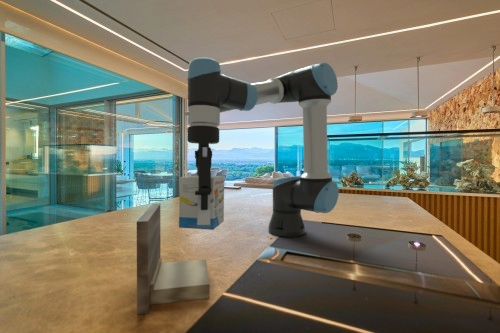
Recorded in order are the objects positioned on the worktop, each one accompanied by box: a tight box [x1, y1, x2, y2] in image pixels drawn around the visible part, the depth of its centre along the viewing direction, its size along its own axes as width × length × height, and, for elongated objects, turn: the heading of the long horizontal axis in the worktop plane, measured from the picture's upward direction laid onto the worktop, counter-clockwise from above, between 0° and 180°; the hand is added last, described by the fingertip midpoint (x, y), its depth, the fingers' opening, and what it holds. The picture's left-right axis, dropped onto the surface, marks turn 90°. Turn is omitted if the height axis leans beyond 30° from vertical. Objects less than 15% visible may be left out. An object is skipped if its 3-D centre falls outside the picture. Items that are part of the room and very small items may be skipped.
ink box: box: [178, 175, 225, 231], centre depth 60 cm, size 9×8×12 cm
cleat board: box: [136, 203, 211, 316], centre depth 59 cm, size 14×20×18 cm
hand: (202, 218), depth 60 cm, fingers closed on ink box, 11 cm apart
